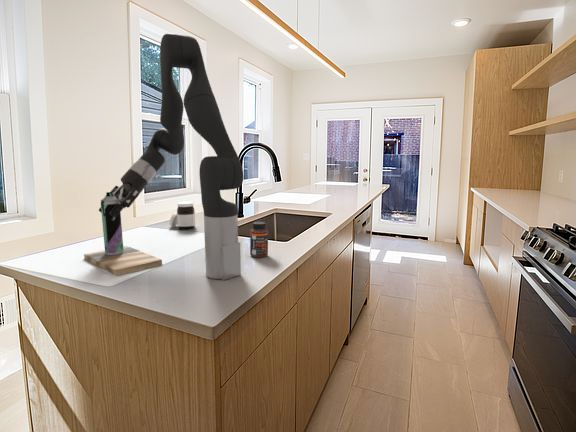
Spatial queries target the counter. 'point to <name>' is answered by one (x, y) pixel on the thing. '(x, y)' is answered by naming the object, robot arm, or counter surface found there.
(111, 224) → the spray can
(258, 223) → the supplement bottle
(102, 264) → the plywood panel
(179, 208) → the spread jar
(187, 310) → the counter surface
